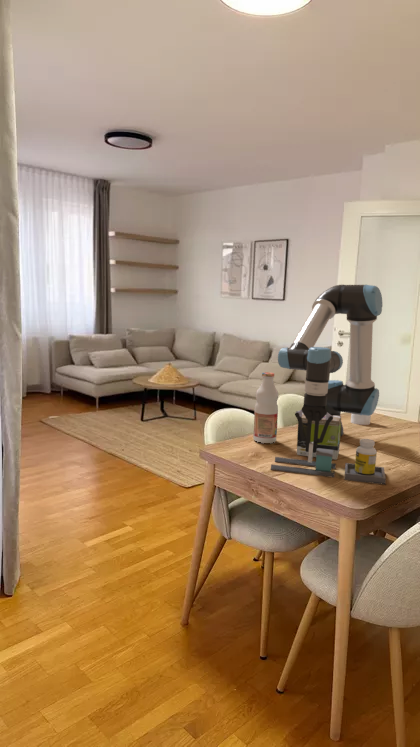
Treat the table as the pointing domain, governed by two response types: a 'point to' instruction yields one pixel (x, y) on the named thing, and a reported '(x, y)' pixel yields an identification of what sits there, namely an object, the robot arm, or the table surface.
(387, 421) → the table surface
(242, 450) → the table surface
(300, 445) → the tea box
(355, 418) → the white cylinder
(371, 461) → the pill bottle
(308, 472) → the guide rail
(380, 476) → the tray
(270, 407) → the fruit juice
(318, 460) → the teal and grey cube
